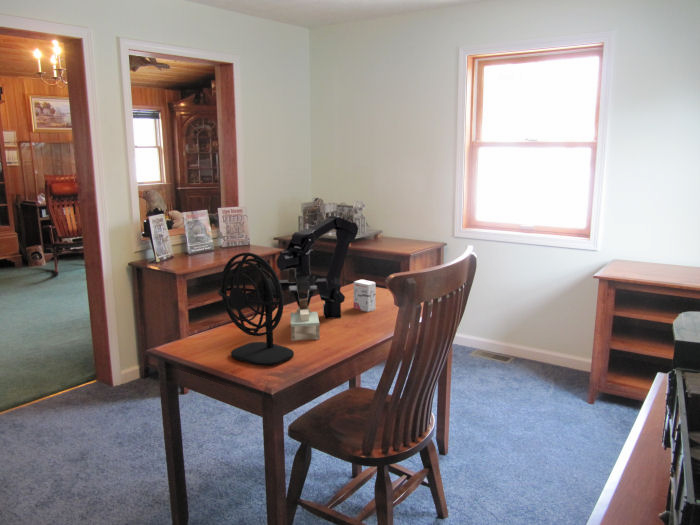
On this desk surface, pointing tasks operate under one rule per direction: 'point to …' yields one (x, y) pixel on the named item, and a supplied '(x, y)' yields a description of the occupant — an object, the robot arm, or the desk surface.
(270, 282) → the desk fan
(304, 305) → the brown l-shaped block
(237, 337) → the desk surface
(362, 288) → the ink box
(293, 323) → the lid
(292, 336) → the beige piece
